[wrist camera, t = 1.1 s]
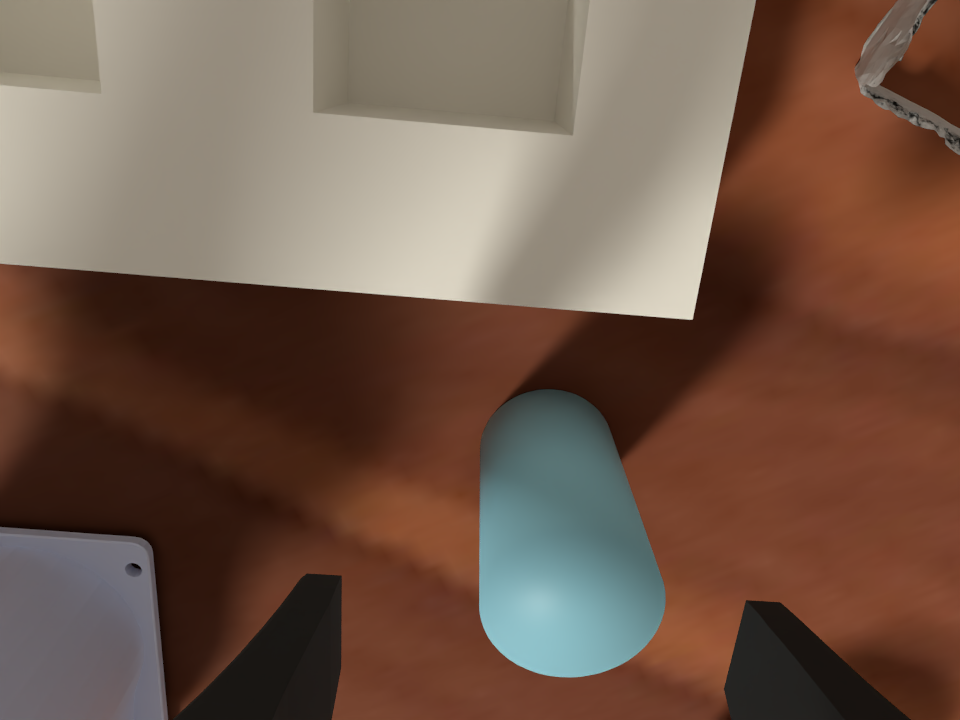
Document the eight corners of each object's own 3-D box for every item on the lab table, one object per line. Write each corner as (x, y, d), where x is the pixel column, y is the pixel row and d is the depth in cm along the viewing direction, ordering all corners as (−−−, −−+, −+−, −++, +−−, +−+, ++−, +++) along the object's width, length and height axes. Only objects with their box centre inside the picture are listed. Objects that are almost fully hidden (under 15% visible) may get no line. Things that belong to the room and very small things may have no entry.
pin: (602, 511, 23) (648, 682, 17) (474, 501, 23) (471, 670, 17) (621, 394, 22) (680, 534, 15) (485, 384, 22) (487, 519, 15)
